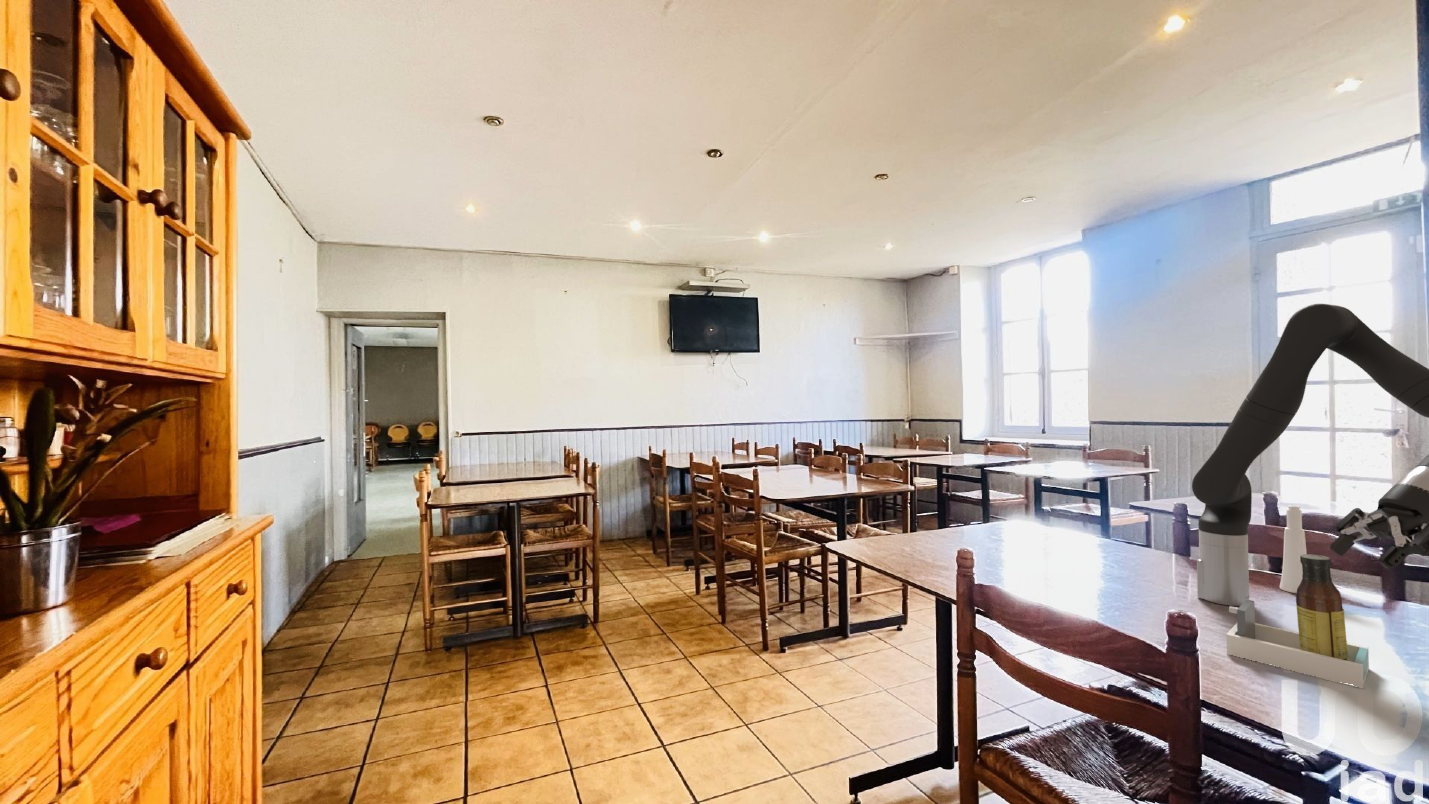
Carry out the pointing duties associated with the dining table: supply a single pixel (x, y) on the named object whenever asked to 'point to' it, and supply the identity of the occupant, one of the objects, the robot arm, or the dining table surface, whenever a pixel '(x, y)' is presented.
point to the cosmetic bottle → (1293, 550)
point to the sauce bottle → (1320, 610)
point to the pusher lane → (1298, 655)
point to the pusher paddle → (1245, 619)
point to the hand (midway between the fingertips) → (1358, 558)
